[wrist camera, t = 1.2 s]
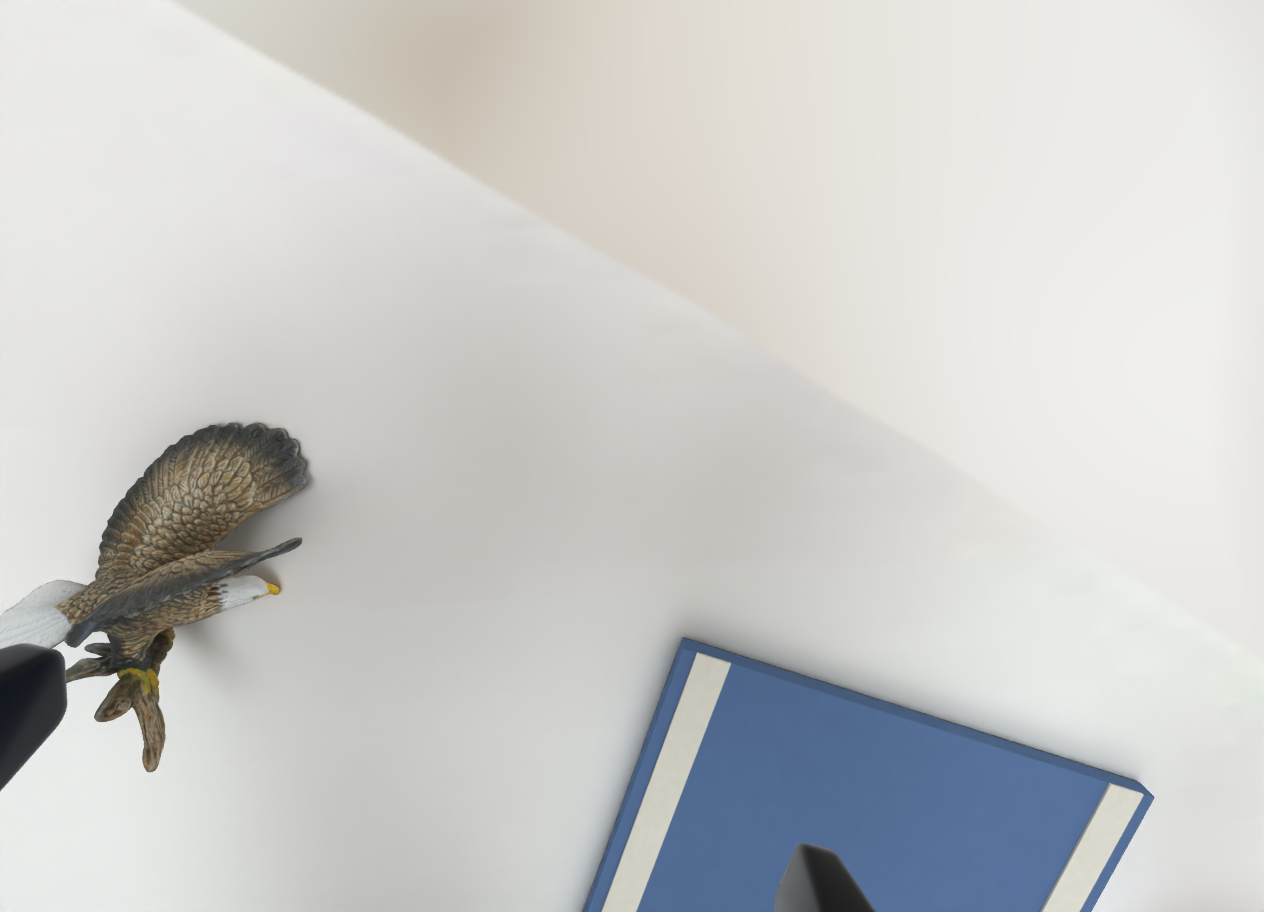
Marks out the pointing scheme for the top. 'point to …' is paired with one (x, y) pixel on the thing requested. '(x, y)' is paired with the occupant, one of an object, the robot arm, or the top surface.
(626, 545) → the top surface
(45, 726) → the robot arm
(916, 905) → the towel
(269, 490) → the eagle figurine
